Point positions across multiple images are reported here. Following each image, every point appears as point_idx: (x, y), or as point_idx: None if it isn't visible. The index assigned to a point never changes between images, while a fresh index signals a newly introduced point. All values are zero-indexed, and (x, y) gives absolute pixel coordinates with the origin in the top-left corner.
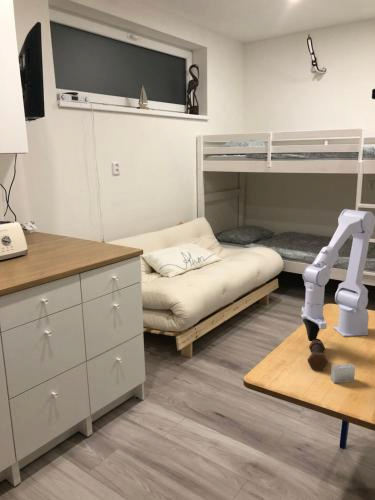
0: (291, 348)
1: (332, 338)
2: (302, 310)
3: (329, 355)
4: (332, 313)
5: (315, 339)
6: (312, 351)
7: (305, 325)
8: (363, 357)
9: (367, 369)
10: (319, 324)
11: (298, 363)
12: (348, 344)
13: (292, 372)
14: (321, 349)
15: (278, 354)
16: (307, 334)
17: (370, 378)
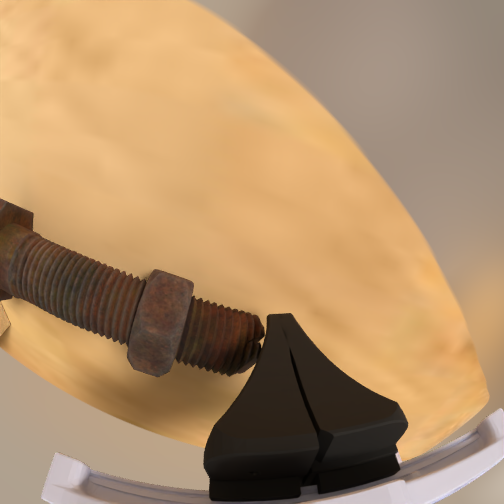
0: (270, 158)
1: None
2: (499, 430)
3: None
4: (461, 408)
5: (230, 356)
6: (73, 268)
7: (344, 385)
8: (154, 423)
9: (75, 393)
10: (58, 490)
11: (64, 147)
12: None
13: (5, 102)
14: (88, 330)
15: (190, 38)
16: (303, 335)
17: (30, 369)
